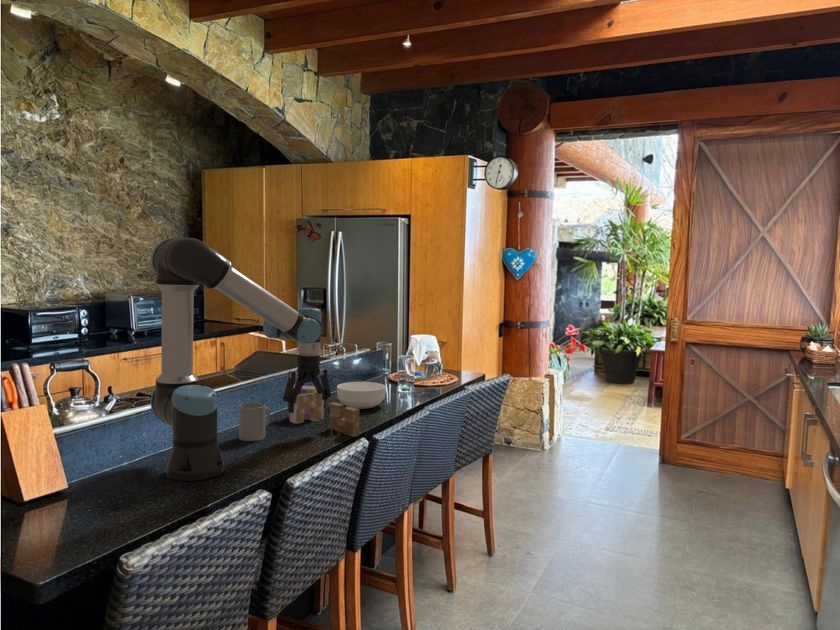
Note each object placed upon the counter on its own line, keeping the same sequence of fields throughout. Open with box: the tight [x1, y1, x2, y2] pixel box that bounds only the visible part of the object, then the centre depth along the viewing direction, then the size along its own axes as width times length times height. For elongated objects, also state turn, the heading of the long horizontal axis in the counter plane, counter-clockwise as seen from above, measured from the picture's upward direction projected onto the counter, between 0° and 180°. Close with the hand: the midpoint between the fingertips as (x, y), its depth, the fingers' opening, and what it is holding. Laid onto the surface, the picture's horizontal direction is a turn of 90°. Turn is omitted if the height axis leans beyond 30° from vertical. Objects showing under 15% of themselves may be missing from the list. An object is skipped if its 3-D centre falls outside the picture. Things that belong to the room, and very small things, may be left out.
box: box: [288, 384, 318, 421], centre depth 240 cm, size 10×6×12 cm, turn 76°
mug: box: [238, 402, 271, 442], centre depth 213 cm, size 12×8×11 cm
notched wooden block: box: [329, 401, 360, 437], centre depth 222 cm, size 2×14×9 cm, turn 42°
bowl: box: [336, 381, 386, 410], centre depth 260 cm, size 20×20×8 cm
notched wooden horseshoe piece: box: [294, 393, 323, 425], centre depth 215 cm, size 10×2×9 cm, turn 132°
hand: (306, 420), depth 215 cm, fingers closed on notched wooden horseshoe piece, 10 cm apart
